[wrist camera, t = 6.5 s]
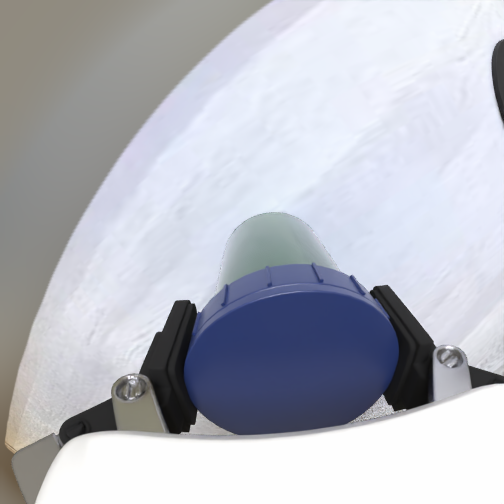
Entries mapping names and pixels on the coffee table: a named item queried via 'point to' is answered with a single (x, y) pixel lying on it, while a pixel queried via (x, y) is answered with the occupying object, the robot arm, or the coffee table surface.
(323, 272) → the lid
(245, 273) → the jar
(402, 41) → the coffee table surface
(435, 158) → the coffee table surface
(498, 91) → the coaster
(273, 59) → the coffee table surface
